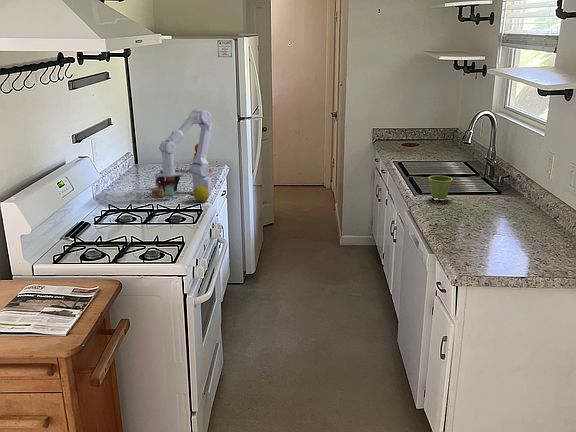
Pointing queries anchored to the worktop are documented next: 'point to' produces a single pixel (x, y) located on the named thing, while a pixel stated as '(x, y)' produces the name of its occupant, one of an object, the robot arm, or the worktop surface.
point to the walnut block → (158, 193)
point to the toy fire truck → (168, 181)
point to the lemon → (201, 193)
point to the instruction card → (181, 195)
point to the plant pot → (440, 186)
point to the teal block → (169, 189)
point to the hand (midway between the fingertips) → (170, 191)
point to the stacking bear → (196, 154)
